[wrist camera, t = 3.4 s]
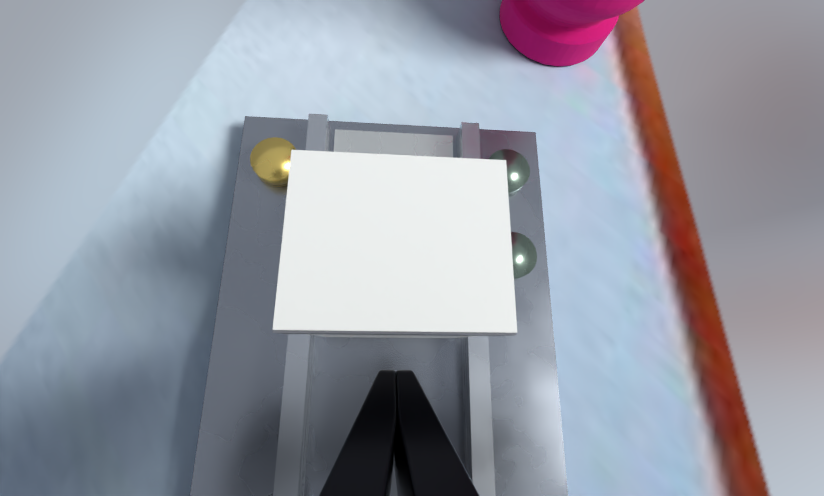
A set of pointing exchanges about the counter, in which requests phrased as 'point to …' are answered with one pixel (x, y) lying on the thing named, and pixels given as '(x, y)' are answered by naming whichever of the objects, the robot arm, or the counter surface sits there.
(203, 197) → the counter surface
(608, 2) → the pepper mill
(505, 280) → the plate
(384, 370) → the robot arm
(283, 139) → the panel
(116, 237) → the counter surface
